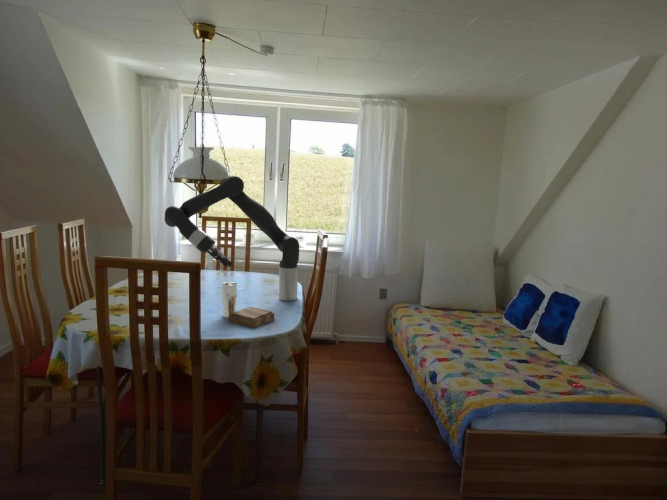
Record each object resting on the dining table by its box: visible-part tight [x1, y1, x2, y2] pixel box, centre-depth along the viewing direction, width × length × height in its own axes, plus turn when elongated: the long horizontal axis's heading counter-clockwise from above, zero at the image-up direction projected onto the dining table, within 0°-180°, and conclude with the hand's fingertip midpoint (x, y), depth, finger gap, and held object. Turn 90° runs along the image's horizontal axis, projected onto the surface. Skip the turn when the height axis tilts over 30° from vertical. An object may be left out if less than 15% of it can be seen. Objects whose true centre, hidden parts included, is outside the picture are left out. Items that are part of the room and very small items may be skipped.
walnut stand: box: [228, 306, 275, 329], centre depth 195 cm, size 14×14×4 cm
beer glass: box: [220, 281, 238, 319], centre depth 201 cm, size 7×7×15 cm
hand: (229, 265), depth 196 cm, fingers open, 8 cm apart
